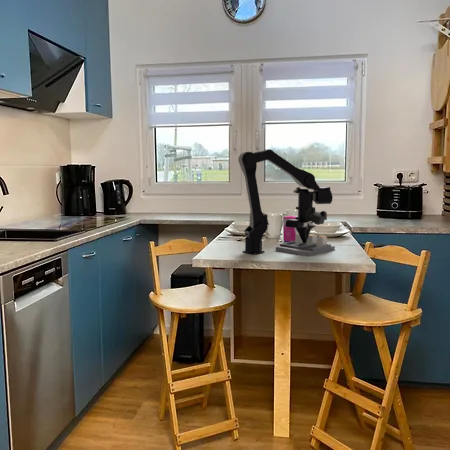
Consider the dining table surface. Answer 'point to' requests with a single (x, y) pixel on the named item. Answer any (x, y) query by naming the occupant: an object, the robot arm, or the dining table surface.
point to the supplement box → (289, 230)
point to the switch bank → (304, 248)
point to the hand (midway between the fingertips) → (304, 242)
